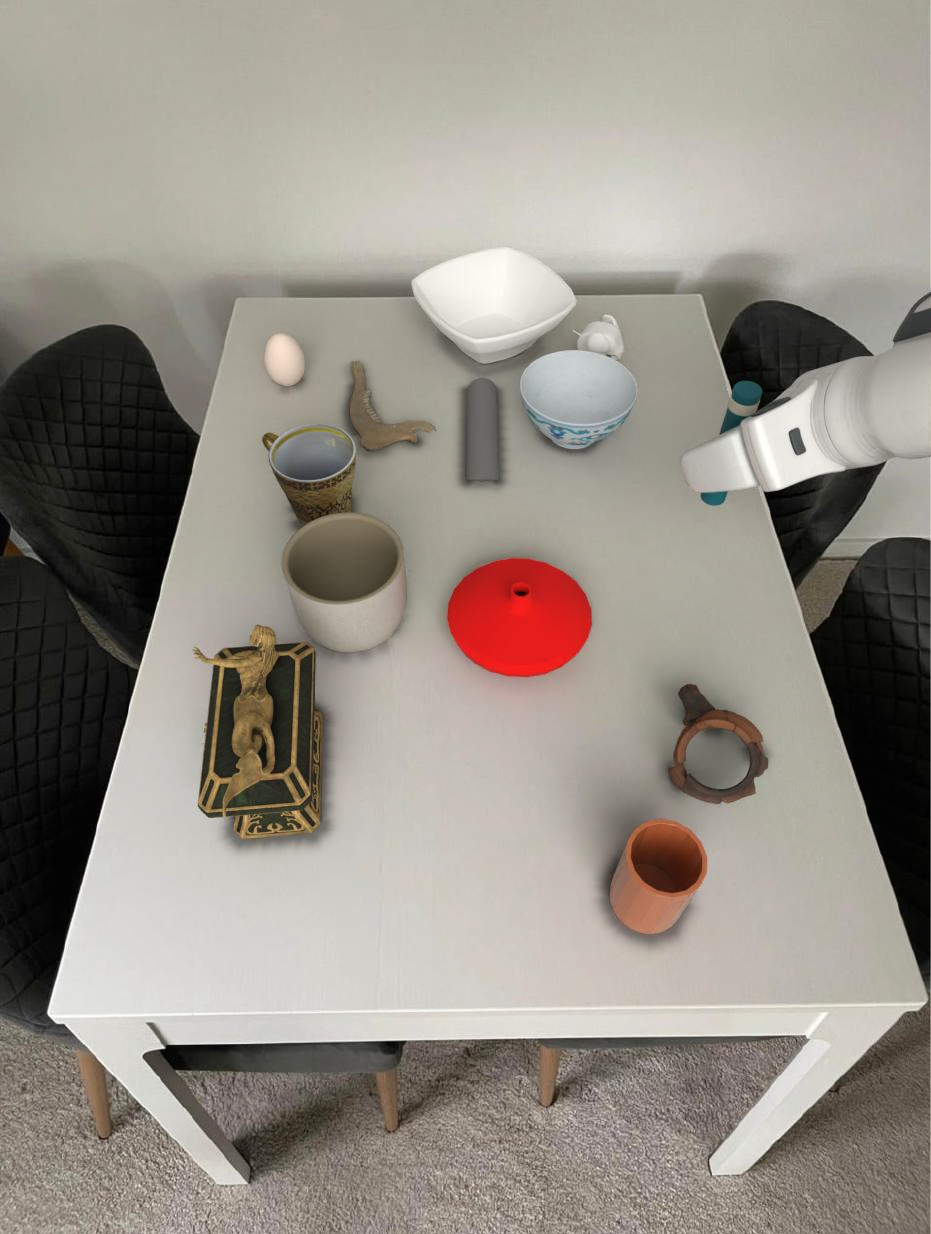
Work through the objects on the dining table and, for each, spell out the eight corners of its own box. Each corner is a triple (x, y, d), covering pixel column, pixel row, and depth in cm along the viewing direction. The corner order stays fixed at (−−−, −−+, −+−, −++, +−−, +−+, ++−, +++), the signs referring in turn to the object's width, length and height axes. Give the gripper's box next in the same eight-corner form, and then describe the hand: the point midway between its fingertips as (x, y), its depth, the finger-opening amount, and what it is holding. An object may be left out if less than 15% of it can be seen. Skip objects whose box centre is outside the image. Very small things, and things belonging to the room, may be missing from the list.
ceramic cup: (380, 504, 103) (373, 443, 95) (330, 554, 98) (317, 494, 90) (301, 465, 107) (287, 403, 99) (249, 511, 102) (230, 450, 94)
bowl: (397, 330, 125) (393, 278, 118) (509, 288, 131) (511, 237, 124) (470, 404, 114) (470, 352, 108) (588, 355, 121) (595, 302, 114)
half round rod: (465, 485, 105) (465, 475, 103) (467, 388, 116) (467, 377, 115) (499, 485, 105) (499, 475, 103) (497, 388, 116) (497, 377, 115)
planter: (361, 560, 97) (351, 494, 89) (433, 620, 92) (429, 556, 83) (276, 619, 92) (256, 555, 84) (347, 686, 87) (333, 626, 78)
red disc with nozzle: (461, 566, 97) (461, 525, 91) (595, 584, 95) (603, 544, 89) (434, 677, 88) (431, 639, 82) (581, 700, 86) (589, 663, 80)
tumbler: (693, 887, 74) (720, 846, 66) (662, 948, 71) (686, 913, 63) (629, 849, 76) (648, 805, 68) (596, 907, 73) (612, 868, 65)
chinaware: (628, 475, 106) (638, 428, 100) (512, 466, 107) (515, 419, 101) (628, 400, 115) (637, 353, 108) (521, 393, 116) (524, 346, 110)
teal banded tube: (729, 494, 88) (767, 386, 76) (719, 509, 86) (756, 402, 75) (705, 485, 89) (740, 376, 77) (695, 499, 87) (728, 391, 76)
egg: (271, 372, 119) (260, 323, 113) (309, 370, 119) (300, 322, 113) (268, 396, 116) (256, 348, 109) (307, 394, 116) (298, 346, 109)
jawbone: (382, 470, 107) (380, 459, 106) (304, 392, 117) (300, 380, 116) (438, 438, 110) (436, 426, 108) (357, 364, 120) (354, 352, 118)
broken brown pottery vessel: (784, 774, 81) (791, 774, 73) (700, 821, 83) (698, 826, 75) (716, 671, 85) (715, 661, 77) (637, 717, 86) (628, 712, 79)
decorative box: (236, 702, 86) (184, 584, 70) (329, 695, 86) (297, 576, 70) (219, 893, 74) (151, 803, 58) (327, 884, 74) (288, 792, 59)
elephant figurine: (614, 379, 118) (620, 343, 113) (562, 365, 120) (566, 329, 115) (629, 353, 121) (635, 317, 116) (578, 339, 123) (582, 304, 118)
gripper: (906, 341, 72) (788, 376, 85) (737, 426, 65) (636, 450, 78) (925, 409, 73) (806, 434, 86) (762, 499, 67) (659, 512, 79)
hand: (724, 442), depth 82 cm, fingers closed on teal banded tube, 2 cm apart
